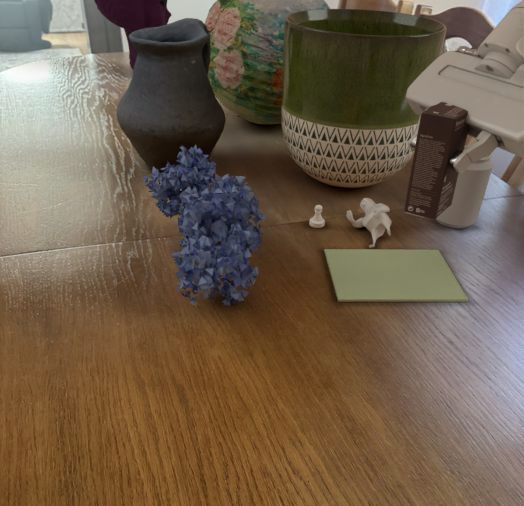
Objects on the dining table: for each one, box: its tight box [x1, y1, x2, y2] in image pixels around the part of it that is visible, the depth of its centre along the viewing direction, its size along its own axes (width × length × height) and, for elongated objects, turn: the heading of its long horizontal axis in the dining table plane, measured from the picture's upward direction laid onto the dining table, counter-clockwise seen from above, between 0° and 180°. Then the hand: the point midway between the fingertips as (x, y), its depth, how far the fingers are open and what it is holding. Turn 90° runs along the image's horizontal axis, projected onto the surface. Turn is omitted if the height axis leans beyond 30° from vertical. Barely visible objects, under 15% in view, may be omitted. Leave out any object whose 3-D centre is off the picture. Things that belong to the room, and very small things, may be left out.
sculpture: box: [93, 0, 172, 71], centre depth 160 cm, size 18×22×30 cm
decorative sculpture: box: [143, 144, 266, 307], centre depth 78 cm, size 14×15×30 cm
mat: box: [323, 248, 469, 303], centre depth 82 cm, size 18×14×1 cm
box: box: [403, 102, 469, 221], centre depth 67 cm, size 6×4×12 cm
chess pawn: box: [308, 204, 326, 229], centre depth 93 cm, size 3×3×4 cm
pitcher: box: [116, 17, 227, 174], centre depth 105 cm, size 21×22×25 cm
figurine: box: [345, 197, 393, 249], centre depth 91 cm, size 6×6×12 cm
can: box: [435, 145, 494, 229], centre depth 93 cm, size 8×8×12 cm
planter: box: [281, 8, 448, 189], centre depth 101 cm, size 27×27×27 cm
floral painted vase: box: [204, 0, 331, 125], centre depth 127 cm, size 32×33×30 cm
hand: (433, 158), depth 66 cm, fingers closed on box, 6 cm apart
